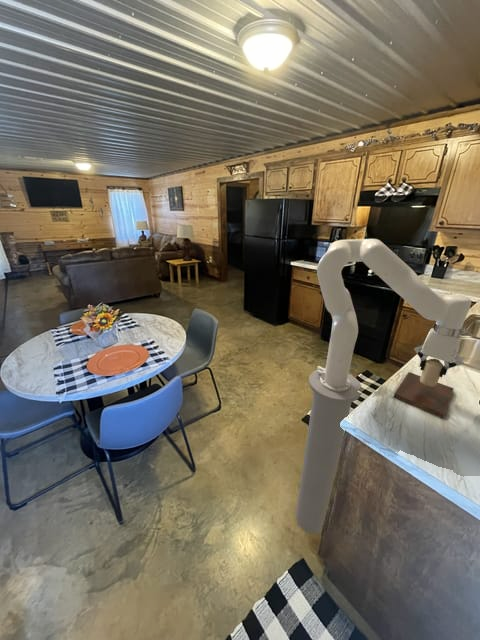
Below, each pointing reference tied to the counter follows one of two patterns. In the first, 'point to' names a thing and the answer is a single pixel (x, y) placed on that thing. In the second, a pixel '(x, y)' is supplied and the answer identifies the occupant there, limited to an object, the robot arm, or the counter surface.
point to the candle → (431, 372)
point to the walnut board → (424, 395)
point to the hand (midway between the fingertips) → (431, 371)
